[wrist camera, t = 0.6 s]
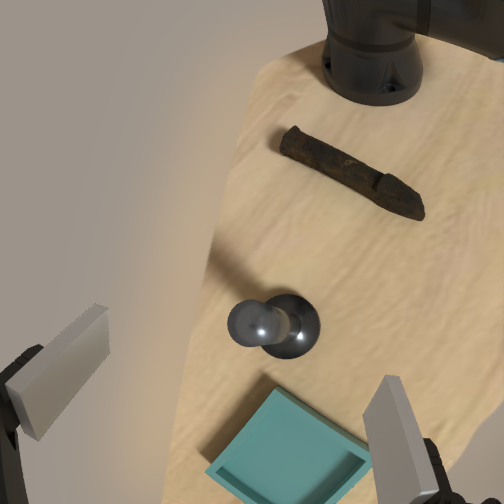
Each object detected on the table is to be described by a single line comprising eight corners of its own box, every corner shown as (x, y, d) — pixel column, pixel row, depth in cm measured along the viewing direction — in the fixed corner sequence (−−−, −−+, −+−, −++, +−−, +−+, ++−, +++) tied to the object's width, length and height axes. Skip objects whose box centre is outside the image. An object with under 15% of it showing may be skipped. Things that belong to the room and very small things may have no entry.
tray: (279, 385, 33) (274, 388, 31) (377, 451, 28) (379, 458, 26) (212, 465, 33) (204, 472, 31) (300, 526, 28) (297, 535, 25)
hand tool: (281, 159, 40) (273, 140, 36) (299, 137, 40) (292, 116, 36) (409, 240, 33) (416, 228, 29) (425, 213, 33) (434, 198, 29)
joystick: (281, 283, 36) (239, 253, 23) (333, 318, 33) (322, 309, 20) (246, 334, 36) (185, 333, 22) (296, 370, 33) (260, 394, 20)
